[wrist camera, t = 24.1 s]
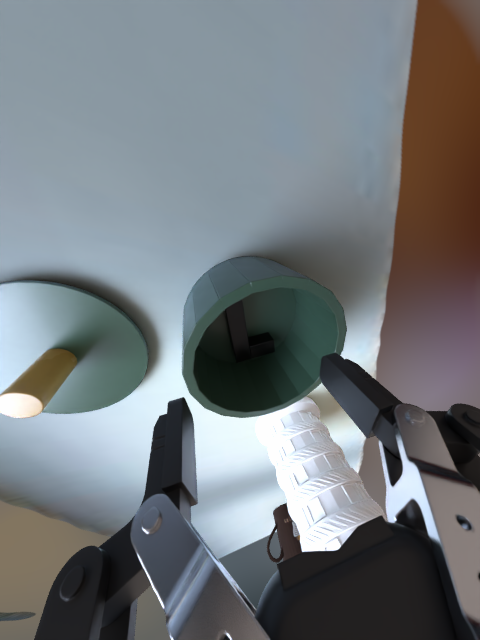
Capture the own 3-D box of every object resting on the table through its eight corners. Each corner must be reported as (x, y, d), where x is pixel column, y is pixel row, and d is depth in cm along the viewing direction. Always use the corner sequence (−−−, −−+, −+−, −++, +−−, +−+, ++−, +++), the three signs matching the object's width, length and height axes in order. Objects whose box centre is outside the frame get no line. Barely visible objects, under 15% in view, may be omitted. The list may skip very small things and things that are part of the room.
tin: (165, 270, 17) (153, 301, 11) (302, 245, 19) (360, 258, 13) (200, 376, 24) (205, 434, 17) (298, 349, 26) (335, 392, 20)
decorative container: (261, 447, 36) (319, 620, 20) (249, 412, 30) (317, 619, 14) (316, 424, 37) (410, 572, 22) (315, 386, 31) (443, 552, 16)
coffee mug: (302, 501, 56) (323, 552, 47) (282, 516, 58) (299, 568, 49) (277, 499, 50) (296, 557, 42) (256, 516, 52) (270, 574, 44)
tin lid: (-106, 299, 13) (-289, 351, 8) (112, 262, 16) (76, 284, 11) (32, 420, 21) (-19, 488, 16) (167, 383, 23) (162, 431, 18)
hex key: (218, 287, 19) (221, 294, 17) (263, 277, 19) (270, 282, 18) (233, 353, 23) (236, 363, 21) (269, 343, 23) (275, 352, 22)
